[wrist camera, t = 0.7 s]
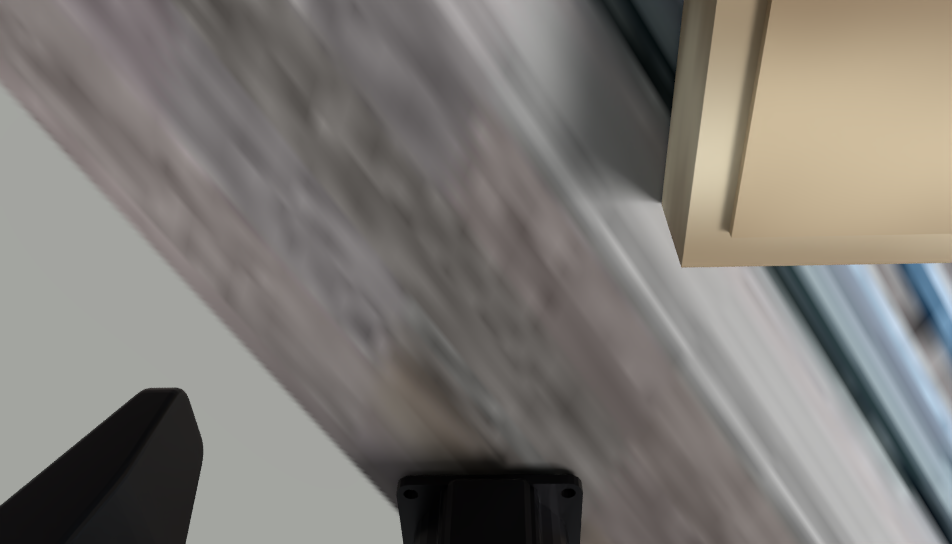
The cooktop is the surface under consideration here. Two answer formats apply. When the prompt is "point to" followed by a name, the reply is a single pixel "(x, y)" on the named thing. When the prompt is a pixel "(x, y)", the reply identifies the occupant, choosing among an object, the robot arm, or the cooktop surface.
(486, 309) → the cooktop surface
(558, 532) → the robot arm
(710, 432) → the cooktop surface
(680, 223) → the soap dish
